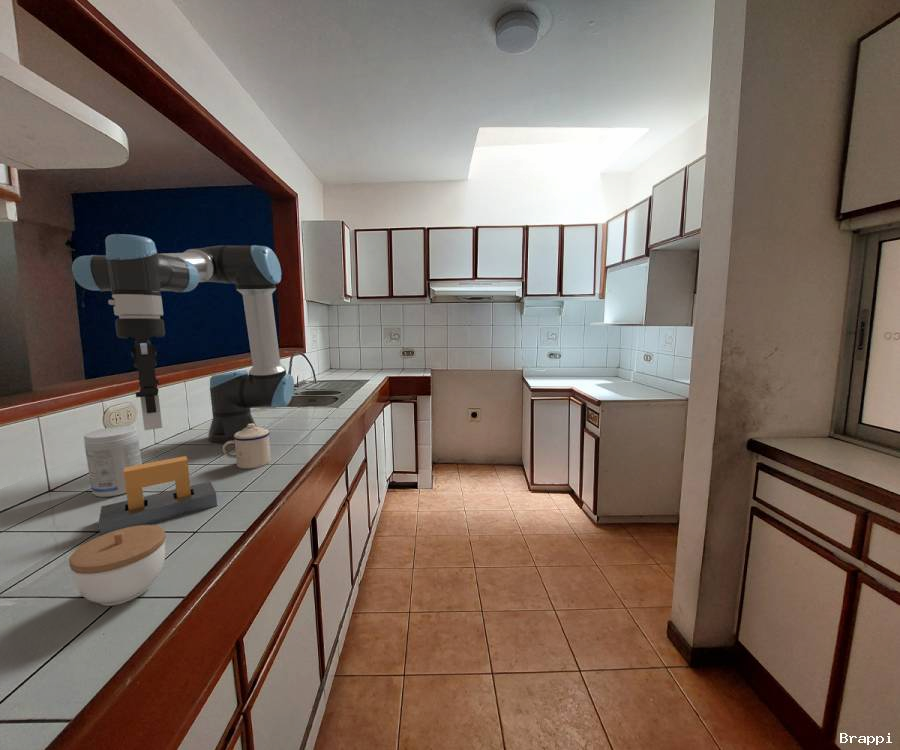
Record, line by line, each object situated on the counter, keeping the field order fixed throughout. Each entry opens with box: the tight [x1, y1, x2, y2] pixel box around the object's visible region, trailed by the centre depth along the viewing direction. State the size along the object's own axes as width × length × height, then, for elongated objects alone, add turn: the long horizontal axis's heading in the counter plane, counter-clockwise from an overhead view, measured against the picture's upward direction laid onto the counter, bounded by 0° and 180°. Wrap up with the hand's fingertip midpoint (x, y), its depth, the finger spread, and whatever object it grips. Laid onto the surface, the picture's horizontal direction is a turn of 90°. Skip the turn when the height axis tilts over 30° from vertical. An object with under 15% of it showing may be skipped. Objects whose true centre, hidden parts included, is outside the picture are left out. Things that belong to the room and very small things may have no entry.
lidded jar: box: [68, 524, 167, 607], centre depth 56 cm, size 11×11×9 cm
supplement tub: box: [83, 425, 143, 498], centre depth 90 cm, size 10×10×15 cm
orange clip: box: [124, 455, 191, 510], centre depth 79 cm, size 10×3×11 cm, turn 130°
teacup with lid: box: [222, 423, 271, 470], centre depth 107 cm, size 12×9×12 cm
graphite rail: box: [98, 480, 218, 536], centre depth 80 cm, size 8×19×3 cm, turn 130°
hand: (152, 421), depth 77 cm, fingers open, 13 cm apart
